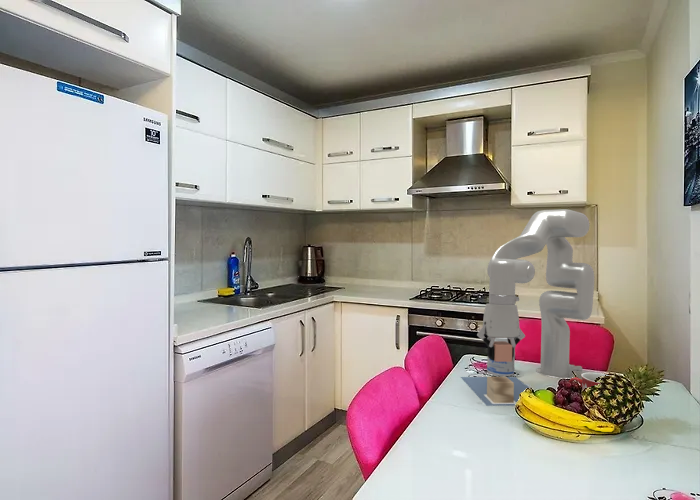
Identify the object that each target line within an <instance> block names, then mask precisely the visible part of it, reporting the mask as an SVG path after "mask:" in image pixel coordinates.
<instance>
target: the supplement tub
mask: <svg viewBox="0 0 700 500" xmlns="http://www.w3.org/2000/svg"><path fill="white" fill-rule="evenodd" d="M495 341H506V342H508V341H507V338H495ZM515 357H516V347H514V357H513V360H512V362H495V361H494V360H491V359H490V358H489V357H488V356H487V358H486V359H487V361H486V371H487V372H488V373H489V374H491V375H494V376H498V377H512V376H514V374H515ZM487 372H486V373H487Z"/></svg>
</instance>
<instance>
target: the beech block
mask: <svg viewBox="0 0 700 500" xmlns="http://www.w3.org/2000/svg"><path fill="white" fill-rule="evenodd" d="M486 377H487V396H488V397H489V398H490V399H491V400H492V401H493V402H494V403H514V383H513V382H512V381H511V380H510V379H508V378H507V377H508V376H486Z"/></svg>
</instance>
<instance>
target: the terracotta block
mask: <svg viewBox="0 0 700 500" xmlns="http://www.w3.org/2000/svg"><path fill="white" fill-rule="evenodd" d="M493 347H494V348H495V351H494V361H495V362H512V345H511V344H509V343H508V342H506V341H494V344H493Z"/></svg>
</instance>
